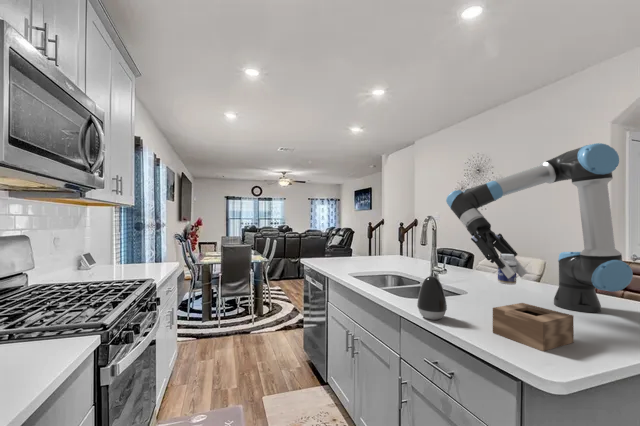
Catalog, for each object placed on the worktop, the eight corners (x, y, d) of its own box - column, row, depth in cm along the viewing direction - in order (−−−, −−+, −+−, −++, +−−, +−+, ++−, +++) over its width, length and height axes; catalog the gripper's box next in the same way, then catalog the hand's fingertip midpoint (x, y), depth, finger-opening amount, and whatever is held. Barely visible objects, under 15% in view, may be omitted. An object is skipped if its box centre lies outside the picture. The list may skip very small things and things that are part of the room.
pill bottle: (494, 281, 107) (494, 253, 107) (509, 281, 107) (509, 253, 107) (504, 285, 102) (504, 255, 102) (520, 285, 102) (520, 255, 102)
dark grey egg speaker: (445, 314, 117) (446, 274, 118) (447, 323, 108) (447, 279, 108) (417, 312, 121) (417, 272, 121) (416, 320, 111) (417, 277, 111)
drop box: (522, 326, 106) (522, 302, 106) (573, 342, 92) (573, 315, 92) (492, 332, 99) (492, 307, 99) (543, 351, 86) (542, 322, 86)
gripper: (486, 229, 122) (528, 279, 107) (451, 230, 115) (490, 284, 100) (499, 216, 117) (544, 267, 102) (463, 216, 110) (506, 270, 95)
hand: (517, 275), depth 101 cm, fingers closed on pill bottle, 5 cm apart
